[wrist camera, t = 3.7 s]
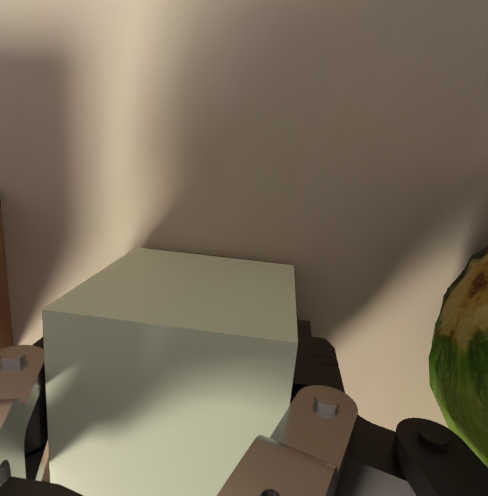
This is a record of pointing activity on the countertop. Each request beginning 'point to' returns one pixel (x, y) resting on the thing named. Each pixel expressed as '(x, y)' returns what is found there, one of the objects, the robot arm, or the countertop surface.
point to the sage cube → (166, 372)
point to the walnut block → (4, 297)
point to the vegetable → (464, 356)
